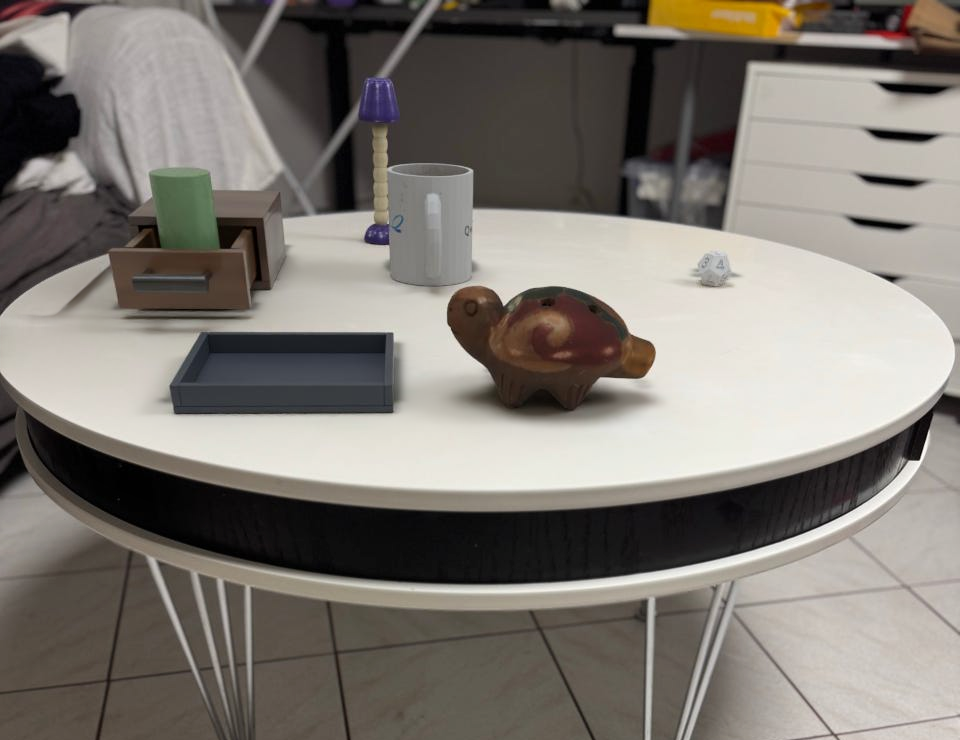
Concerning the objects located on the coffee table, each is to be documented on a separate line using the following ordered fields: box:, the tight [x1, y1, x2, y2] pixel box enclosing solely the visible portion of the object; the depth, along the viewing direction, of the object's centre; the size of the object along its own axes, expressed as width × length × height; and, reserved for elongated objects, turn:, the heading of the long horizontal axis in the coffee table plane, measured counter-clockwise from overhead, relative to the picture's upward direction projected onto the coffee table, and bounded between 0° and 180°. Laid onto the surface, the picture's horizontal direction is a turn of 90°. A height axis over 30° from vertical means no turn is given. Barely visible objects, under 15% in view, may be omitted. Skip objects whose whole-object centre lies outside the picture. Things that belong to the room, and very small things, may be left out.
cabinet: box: [127, 189, 287, 290], centre depth 93 cm, size 15×13×7 cm
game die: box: [697, 250, 733, 287], centre depth 95 cm, size 4×4×3 cm
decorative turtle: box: [446, 285, 657, 411], centre depth 65 cm, size 10×15×8 cm, turn 98°
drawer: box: [107, 225, 260, 310], centre depth 83 cm, size 18×11×5 cm, turn 4°
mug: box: [387, 162, 474, 287], centre depth 92 cm, size 12×9×10 cm
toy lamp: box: [357, 77, 401, 245], centre depth 104 cm, size 5×5×17 cm
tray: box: [169, 331, 395, 414], centre depth 68 cm, size 15×12×2 cm
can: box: [148, 166, 220, 249], centre depth 82 cm, size 5×5×9 cm
